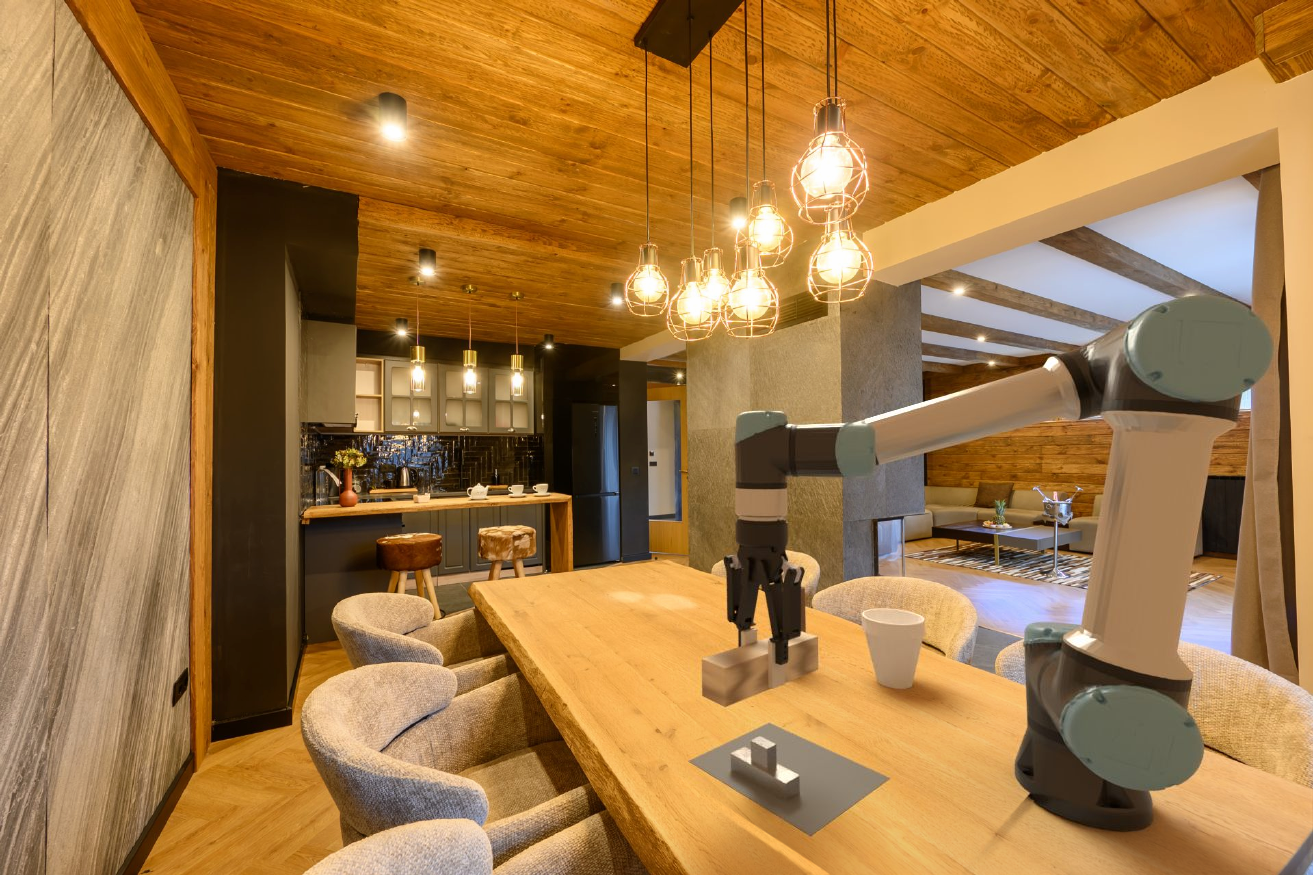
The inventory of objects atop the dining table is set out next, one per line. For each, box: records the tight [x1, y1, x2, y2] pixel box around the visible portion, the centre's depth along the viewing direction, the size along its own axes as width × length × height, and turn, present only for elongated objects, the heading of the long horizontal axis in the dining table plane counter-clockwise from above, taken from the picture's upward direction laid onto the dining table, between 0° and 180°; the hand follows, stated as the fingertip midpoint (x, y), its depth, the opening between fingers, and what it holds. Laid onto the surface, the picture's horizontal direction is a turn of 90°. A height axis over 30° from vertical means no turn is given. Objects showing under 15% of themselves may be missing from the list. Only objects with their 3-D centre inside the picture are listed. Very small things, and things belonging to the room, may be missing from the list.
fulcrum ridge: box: [731, 736, 800, 802], centre depth 79 cm, size 10×3×6 cm, turn 39°
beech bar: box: [701, 631, 819, 708], centre depth 80 cm, size 20×4×5 cm, turn 128°
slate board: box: [688, 722, 891, 837], centre depth 82 cm, size 22×19×1 cm
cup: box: [861, 607, 927, 690], centre depth 116 cm, size 12×12×14 cm
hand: (762, 679), depth 80 cm, fingers closed on beech bar, 4 cm apart
